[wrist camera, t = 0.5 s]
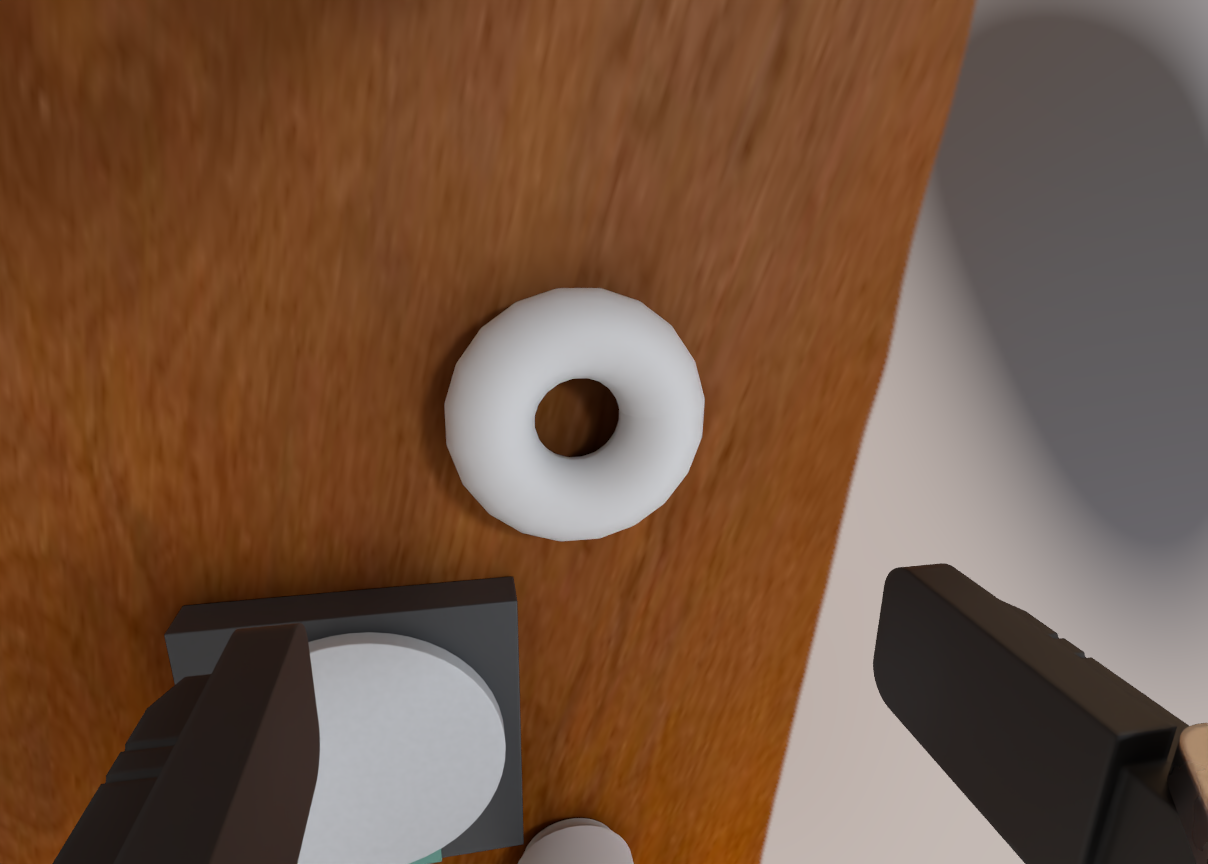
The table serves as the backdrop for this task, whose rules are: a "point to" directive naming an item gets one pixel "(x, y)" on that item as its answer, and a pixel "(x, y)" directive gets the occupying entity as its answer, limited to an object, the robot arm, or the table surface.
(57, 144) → the table surface
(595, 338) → the donut
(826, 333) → the table surface
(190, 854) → the robot arm
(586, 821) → the energy drink can
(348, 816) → the scale
